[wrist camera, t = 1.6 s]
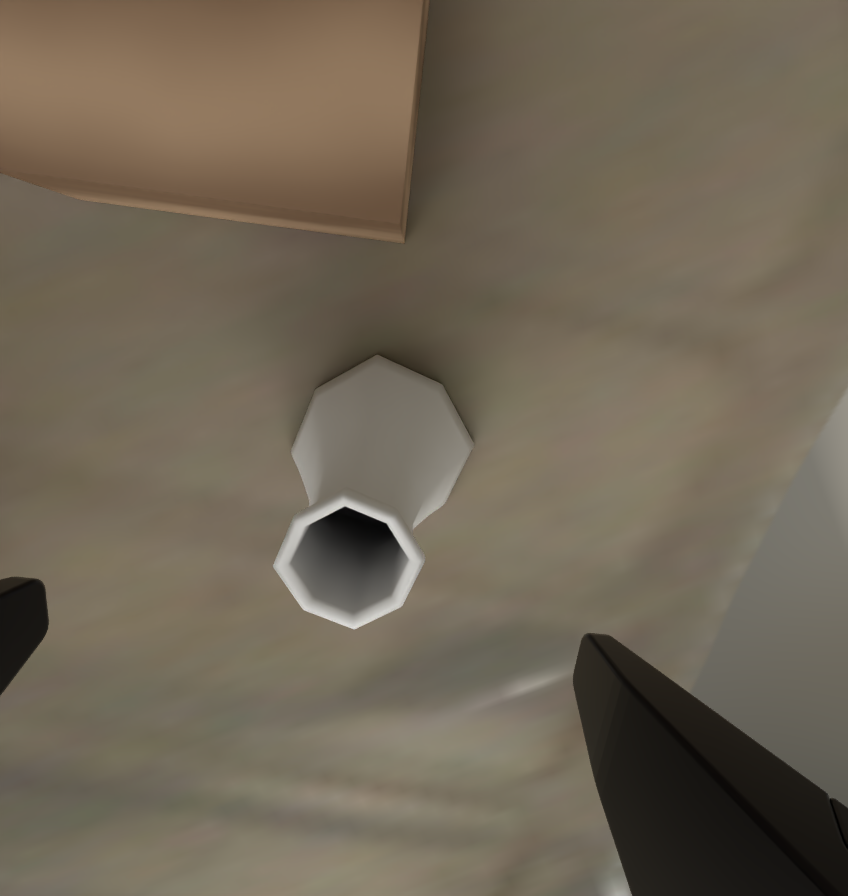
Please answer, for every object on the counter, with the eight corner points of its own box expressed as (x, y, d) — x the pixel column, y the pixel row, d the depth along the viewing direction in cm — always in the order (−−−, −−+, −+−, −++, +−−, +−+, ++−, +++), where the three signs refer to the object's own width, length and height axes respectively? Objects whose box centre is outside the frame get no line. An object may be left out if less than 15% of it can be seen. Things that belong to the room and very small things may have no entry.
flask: (504, 442, 20) (579, 556, 11) (389, 555, 22) (364, 748, 12) (375, 320, 19) (328, 326, 9) (262, 450, 20) (118, 572, 11)
